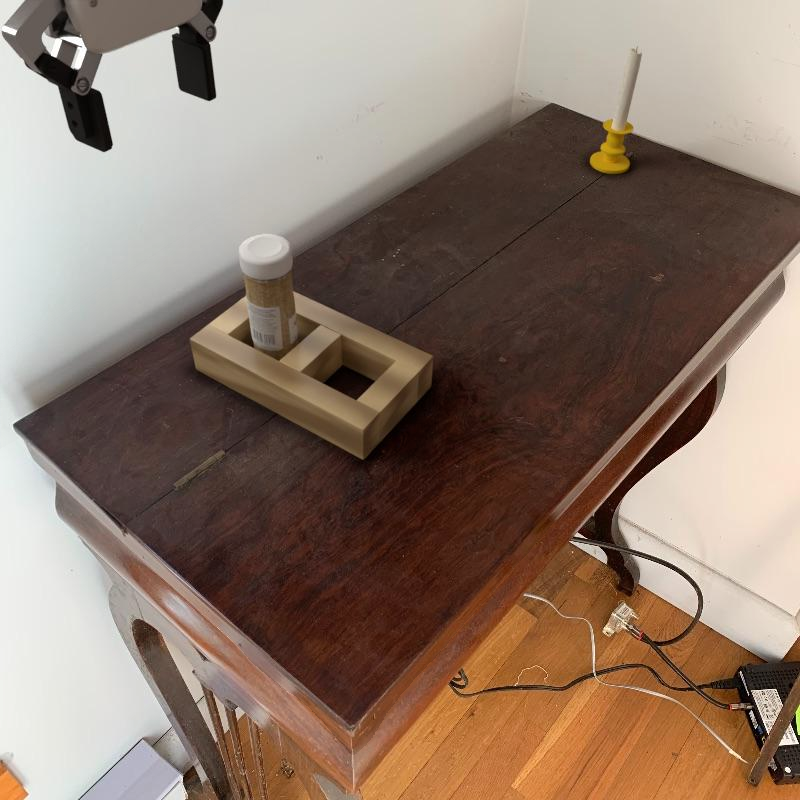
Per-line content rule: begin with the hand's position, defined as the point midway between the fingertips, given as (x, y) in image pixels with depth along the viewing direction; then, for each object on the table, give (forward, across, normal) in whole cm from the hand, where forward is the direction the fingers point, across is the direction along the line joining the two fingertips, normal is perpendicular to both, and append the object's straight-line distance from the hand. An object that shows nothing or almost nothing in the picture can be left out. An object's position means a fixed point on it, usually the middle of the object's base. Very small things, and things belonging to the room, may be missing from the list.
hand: (148, 118), depth 56 cm
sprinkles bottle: (+27, -8, +3) cm, 28 cm away
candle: (+26, -63, +14) cm, 69 cm away
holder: (+27, -8, +7) cm, 29 cm away
